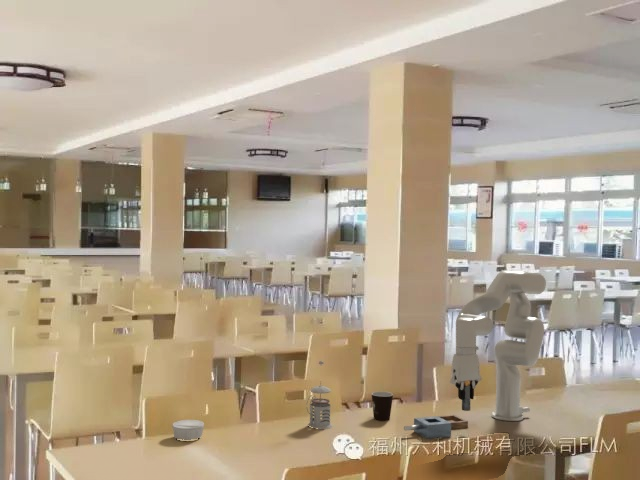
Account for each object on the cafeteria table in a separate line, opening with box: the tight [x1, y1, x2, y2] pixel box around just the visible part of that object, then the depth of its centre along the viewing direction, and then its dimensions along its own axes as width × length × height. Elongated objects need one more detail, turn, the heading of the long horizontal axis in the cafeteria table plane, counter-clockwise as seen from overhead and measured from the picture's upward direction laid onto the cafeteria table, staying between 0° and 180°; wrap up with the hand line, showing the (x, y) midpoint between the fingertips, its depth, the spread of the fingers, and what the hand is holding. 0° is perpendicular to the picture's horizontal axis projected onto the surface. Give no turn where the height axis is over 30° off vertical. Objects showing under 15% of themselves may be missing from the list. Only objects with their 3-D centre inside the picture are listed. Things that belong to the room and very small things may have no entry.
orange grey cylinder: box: [461, 381, 471, 412], centre depth 268 cm, size 3×3×12 cm
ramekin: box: [171, 419, 205, 440], centre depth 253 cm, size 11×11×5 cm
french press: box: [306, 360, 333, 430], centre depth 271 cm, size 10×12×25 cm
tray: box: [438, 414, 469, 430], centre depth 277 cm, size 12×10×2 cm
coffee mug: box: [371, 391, 394, 422], centre depth 285 cm, size 12×9×10 cm
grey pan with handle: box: [403, 415, 452, 440], centre depth 263 cm, size 16×10×5 cm, turn 111°
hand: (466, 398), depth 268 cm, fingers closed on orange grey cylinder, 3 cm apart
